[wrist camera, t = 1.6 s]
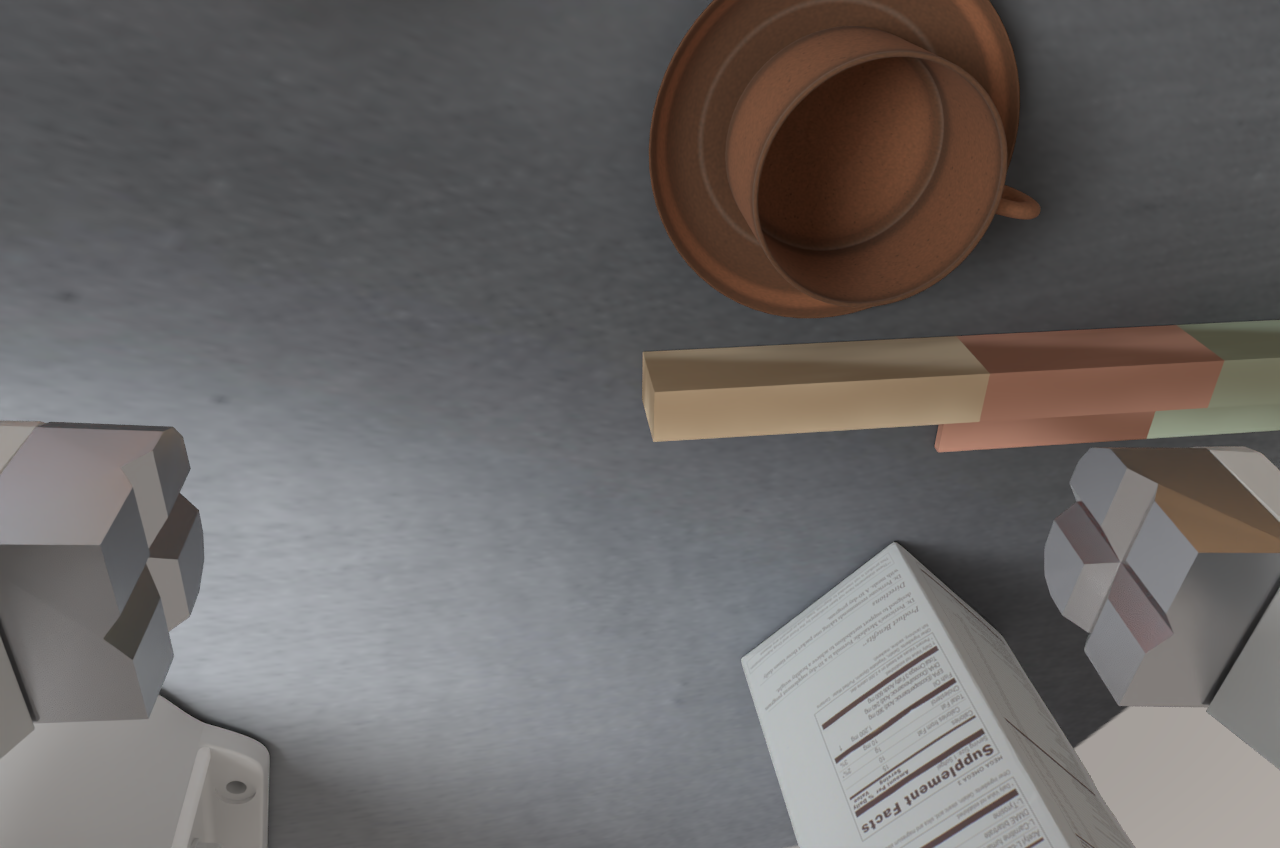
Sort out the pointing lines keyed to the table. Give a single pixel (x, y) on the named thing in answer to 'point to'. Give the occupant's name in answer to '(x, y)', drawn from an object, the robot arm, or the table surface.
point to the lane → (979, 386)
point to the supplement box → (915, 725)
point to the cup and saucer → (835, 148)
